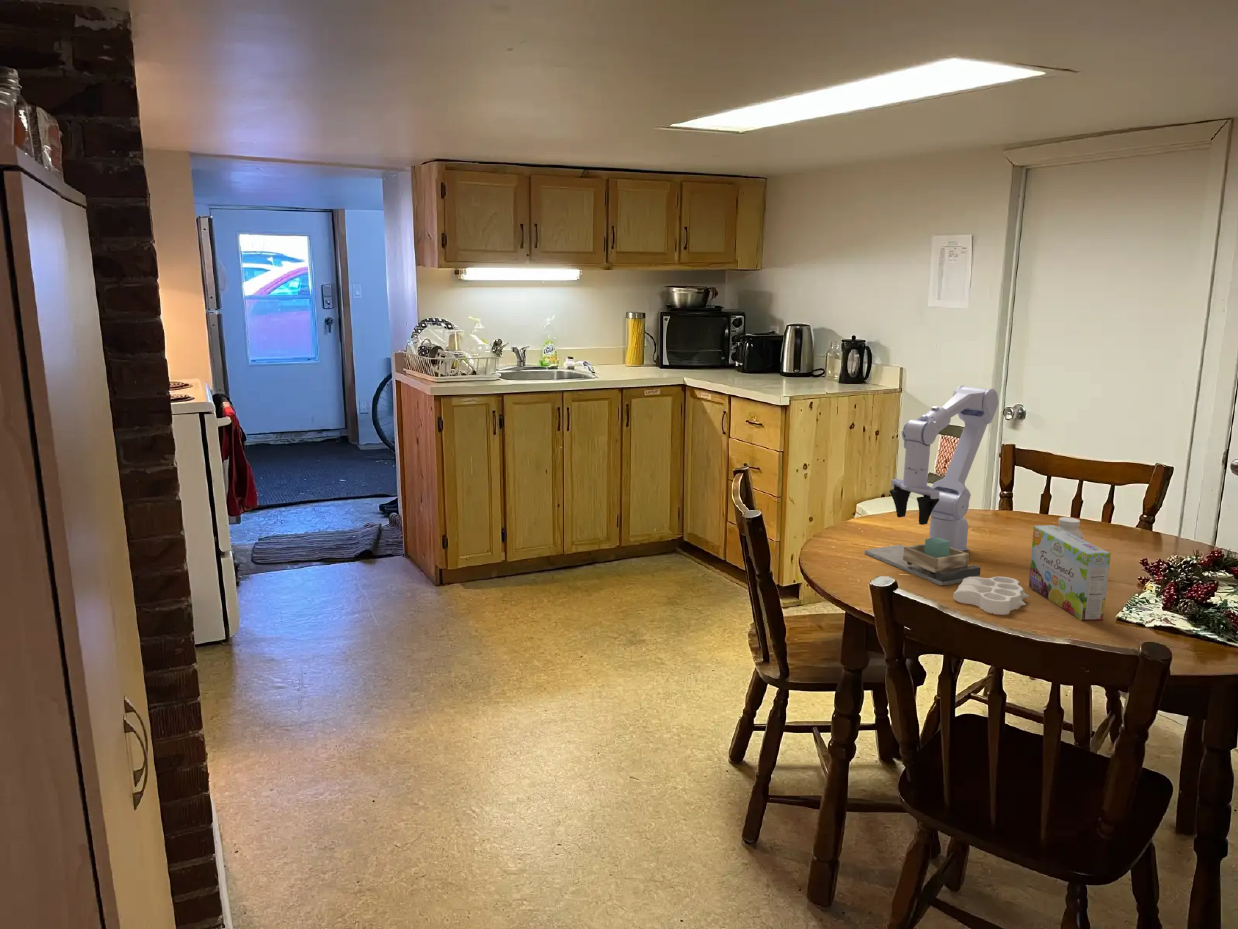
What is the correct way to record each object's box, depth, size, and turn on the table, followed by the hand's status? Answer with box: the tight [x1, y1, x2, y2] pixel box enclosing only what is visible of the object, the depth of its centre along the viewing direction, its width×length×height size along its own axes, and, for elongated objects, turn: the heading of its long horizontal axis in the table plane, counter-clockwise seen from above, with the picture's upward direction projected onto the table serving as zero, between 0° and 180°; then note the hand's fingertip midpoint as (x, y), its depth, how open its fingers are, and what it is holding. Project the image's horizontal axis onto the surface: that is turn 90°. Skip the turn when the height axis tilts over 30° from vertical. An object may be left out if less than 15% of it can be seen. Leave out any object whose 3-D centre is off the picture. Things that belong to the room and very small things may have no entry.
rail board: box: [864, 544, 982, 586], centre depth 218 cm, size 12×27×3 cm, turn 25°
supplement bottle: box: [1057, 516, 1084, 540], centre depth 215 cm, size 7×7×13 cm
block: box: [924, 537, 950, 558], centre depth 213 cm, size 4×4×5 cm
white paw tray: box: [952, 576, 1031, 616], centre depth 196 cm, size 3×18×15 cm
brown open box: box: [903, 543, 970, 574], centre depth 213 cm, size 11×11×4 cm
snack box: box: [1028, 524, 1111, 622], centre depth 193 cm, size 21×6×15 cm, turn 5°
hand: (911, 520), depth 221 cm, fingers open, 7 cm apart
